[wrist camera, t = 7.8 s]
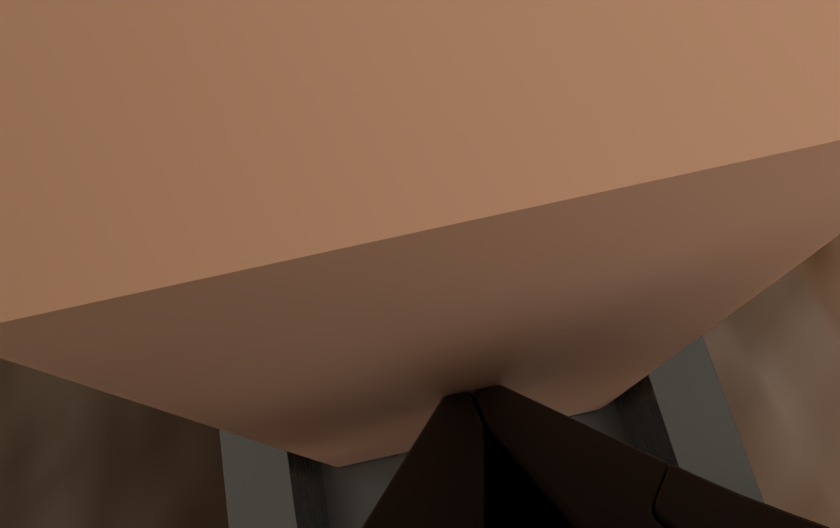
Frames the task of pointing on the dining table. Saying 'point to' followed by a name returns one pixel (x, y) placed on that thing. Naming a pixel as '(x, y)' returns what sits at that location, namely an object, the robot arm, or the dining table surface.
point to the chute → (622, 418)
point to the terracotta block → (399, 198)
